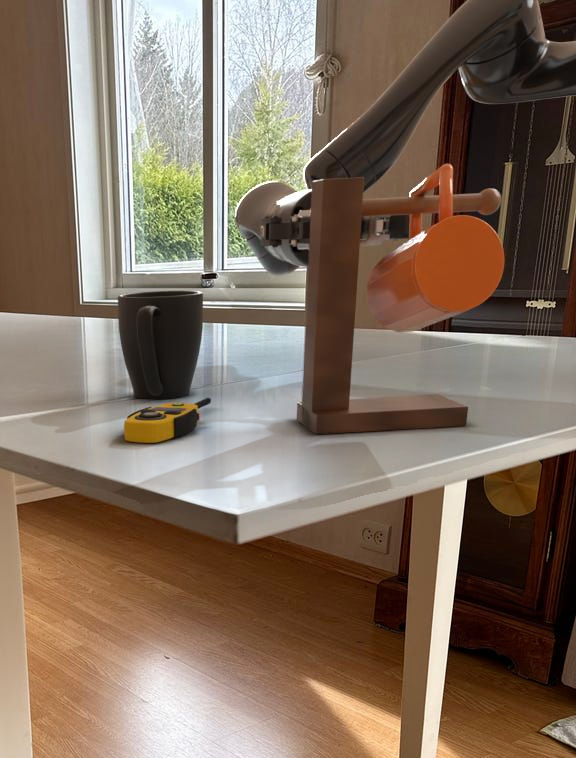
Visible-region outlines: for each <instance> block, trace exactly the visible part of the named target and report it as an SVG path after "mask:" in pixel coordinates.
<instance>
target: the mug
mask: <svg viewBox="0 0 576 758" xmlns="http://www.w3.org/2000/svg"><path fill="white" fill-rule="evenodd" d="M117 313H118V314H117V315H118V316H117V317H118V333H119V339H120V346H121V352H122V357H123V360H124V365H125V368H126V371H127V374H128V378H129V380H130V384H131V387H132V392H133V395H134V397H136V398H140V399H147V400H148V399H149V400H167V399H176V398H182V397H186V396H188V395H190V392H191V387H192V383H193V379H194V375H195V372H196V368H197V365H198V360H199V356H200V350H201V344H202V339H203V328H204V293H203V292H202V291H198V290H157V291H142V292H140V291H139V292H131V293H130V292H129V293H124V294H120V295H118V296H117Z"/></svg>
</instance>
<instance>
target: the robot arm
mask: <svg viewBox="0 0 576 758" xmlns="http://www.w3.org/2000/svg"><path fill="white" fill-rule="evenodd" d="M457 70H458V72H459V75H460V78H461V82H462V83H461V84H462V85H463V86H462V87H463V89H464V91H465V92H466V94H467V95H468V97H469V98H470V99H471V100H472V101H475V102H478V103H480V104H486V105H503V104H504V105H506V104H516V103H525V102H532V101H533V102H534V101H540V100H548V99H557V98H565V97H576V40H573V41H563V42H561V41H560V42H559V41H552V40H549V39H547V37H546V34H545V29H544V23H543V19H542V13H541V8H540V3H539V0H466V1H465V2H463V3H462V5H460V7H458V8H457V9H456V10H455V11H454V13H453V14H452V15H450V16H449V18H448V19H447V20H446V21H445V22H444V23H443V25H442V26H441V27H440V28H439V29H438V30H437V32H435V34H434V35H433V36H432V37H431V38H430V39H429V41H427V43H426V44H425V45H424V46H422V48H421V49H420V50H419V51H418V52H417V53H416V55H415V56H414V57H413V58H412V59H411V61H410V62H409V63H408V64H407V65H406V66H405V67H404V69H403V70H402V71H401V72H400V74H398V75H397V77H396V78H395V79H394V81H393V82H392V83H391V84H390V85H389V86H388V88H387V89H386V90H385V91H384V92H383V93H382V94H381V95H380V96H379V98H377V99H376V101H375V102H374V103H373V104H372V105H370V107H368V109H366V111H365V112H363V114H361V115H360V116H359V117H358V118H356V120H355V121H354V122H352V123H351V124H350V125H349V126H348V127H347V128H346V129H344V130H343V131H342V132H341V133H340V134H339V135H338V136H337V137H335V138H334V139H332V140H331V142H329V143H328V144H327V145H326V146H325V147H324V148H322V149H321V150H320V151H319V152H318V153H316V154H315V155H314V156H313V157H312V158H310V159H309V161H308V162H307V163H306V165H305V166H304V168H303V172H302V173H303V180H304V183H305V187H306V189H303V190H300V191H297V190H296V189H295V188H293V187H292V186H291V185H289V184H287V183H285V182H283V181H279V180H272V181H266V182H263V183H260V184H258V185H256V186H255V187H252V189H250V190H249V191H248V192H247V193H246V194H244V196H243V197H242V198H241V199H240V201H239V203H238V204H237V207H236V209H235V215H234V221H235V225H236V229H237V230H238V231H239V233H240V235H241V236H242V238H243V239H244V240H245V242H246V243H247V245H248V246H249V248H250V250H251V251H252V253H253V254H254V256H255V257H256V258H257V260H258V262H259V263H260V264H261V266H262V267H263V269H264V270H265V271H266V272H267V273H268V274H270V275H271V276H275V277H280V276H286V275H289V274H291V273H294V272H295V271H296V270H297V269H299V268H300V267H303V268H308V263H309V241H310V219H311V197H312V182H313V181H317V180H322V179H337V178H358V177H364V188H363V194H365V193H366V192H367V191H368V190H370V188H372V187H373V186H374V185H375V184H376V183H377V182H379V181H380V180H382V178H383V177H385V176H386V175H387V173H389V171H390V170H391V169H392V168H393V167H394V165H396V164H397V162H398V161H399V159H400V158H401V156H402V155H403V153H404V151H405V150H406V148H407V146H408V144H409V142H410V141H411V139H412V138H413V135H414V134H415V131H416V130H417V128H418V126H419V124H420V122H421V121H422V118H423V117H424V115H425V113H426V111H427V110H428V108H429V106H430V105H431V104H432V102H433V100H434V99H435V97H436V95H437V94H438V93H439V91H440V90H441V89H442V87H443V86H444V84H445V83H446V82H447V81H448V80H449V79H450V78H451V76H452V75H453V74H454V73H455V72H457ZM407 239H408V240H409V215H389V216H370V217H362V218H361V233H360V247H376V246H380V245H381V244H383V241H391V242H398V241H399V240H407Z"/></svg>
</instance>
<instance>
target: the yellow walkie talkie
mask: <svg viewBox="0 0 576 758" xmlns="http://www.w3.org/2000/svg"><path fill="white" fill-rule="evenodd" d="M211 402H212V398H211V397H206V398H204V399H201V400H199V401H197V402H194V403H188V402H187V403H186V402H168V403H163V404H159V405H156V406H155V405H154V406H148V407H145V408H142V409H139V410H136V411H134V412H132V413H130V414H129V415H128V416H127V417H126V419H125V420H124V422H123V423H124V424H123V435H124V440H125V441H127V442H130V443H131V442H132V443H139V444H140V443H141V444H142V443H144V444H155V443H160V442H164V441H167V440H171V439H177V438H180V437H182V436H186V434H187V435H188V434H190V433H191V432H192V431H194V430H195V429H196V428H197V426H198V422H199V420H200V417H201V416H200V412H199V409H201V408H203V407H205V406H206V407H207V406H208V405H209V404H211Z"/></svg>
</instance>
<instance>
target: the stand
mask: <svg viewBox="0 0 576 758" xmlns="http://www.w3.org/2000/svg"><path fill="white" fill-rule="evenodd" d="M363 188H364V177H358V178H337V179H322V180H317V181H313V182H312V197H311V219H310V241H309V263H308V267H307V287H306V306H305V307H306V310H305V330H304V331H305V333H304V353H303V374H302V376H303V377H302V394H301V395H302V399H301V401H298V402H297V403H296V421H297V422H298V423H300V424H301V425H302V426H304V427H305V428H307V429H308V430H309V431H311V432H312V433H313V434H314V435H329V434H331V435H333V434H346V433H347V434H348V433H365V432H379V431H380V432H381V431H396V430H397V431H398V430H399V431H400V430H414V429H415V430H416V429H432V428H434V429H435V428H448V427H449V428H451V427H467V422H468V414H469V406H468V405H465V404H463V403H460V402H458V401H455V400H453V399H450V398H448V397H445V396H443V395H441V394H438V393H437V394H436V393H435V394H421V395H419V394H418V395H402V396H400V395H399V396H385V397H367V398H351V384H352V368H353V355H354V354H353V352H354V338H355V324H356V322H355V321H356V307H357V294H358V293H357V291H358V277H359V261H360V247H361V246H360V240H361V239H360V233H361V218H362V217H370V216H389V215H409V214H422V215H425V214H439V194H436V195H424V196H415V197H409V196H399V197H398V196H397V197H377V198H364V193H363ZM501 204H502V195H501V193H500V191H499V190H497V189H496V188H493V187H492V188H490V187H489V188H485V189H483V190H481V191H480V192H476V193H457V194H453V213H466V212H468V213H469V212H478V213H479V214H481V215H483V216H489V215H493V214H494V213H496V211H498V209H499V208H500V206H501ZM350 398H351V399H350Z"/></svg>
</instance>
